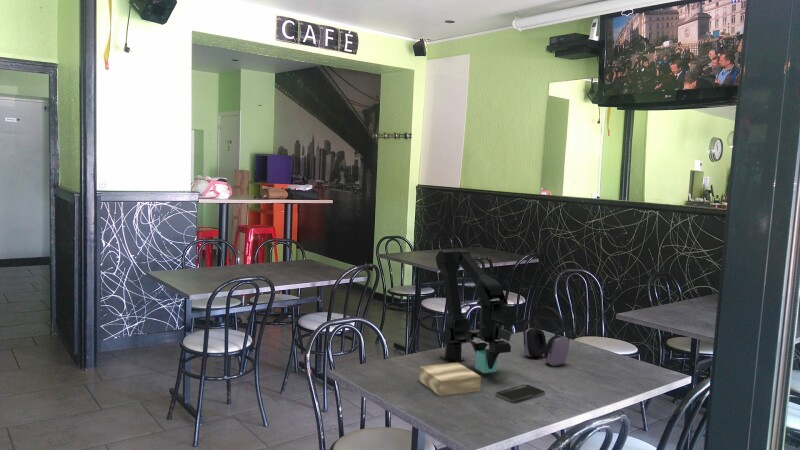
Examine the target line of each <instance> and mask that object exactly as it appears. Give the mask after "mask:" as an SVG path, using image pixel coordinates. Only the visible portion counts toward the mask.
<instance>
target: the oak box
mask: <svg viewBox="0 0 800 450" xmlns="http://www.w3.org/2000/svg"><path fill="white" fill-rule="evenodd" d="M418 376H419V379H418V381H419V382H420V383H422V384H423V385H424V386H425V387H427V388H428V389H430V391H432V392H434V393H435V394H436V395H437V396H439V397H445V396H452V395H459V394H460V395H461V394H468V393H476V391H477V392H481V384H482V383H481V382H482V381H481V380H482V376H481V375H479V374H478V373H476V372H474V371H473V370H472V369H470V368H468V367H467V366H465V365H463V364H461V363H459V362H448V363H440V364H430V365H421V366H419V375H418Z"/></svg>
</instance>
